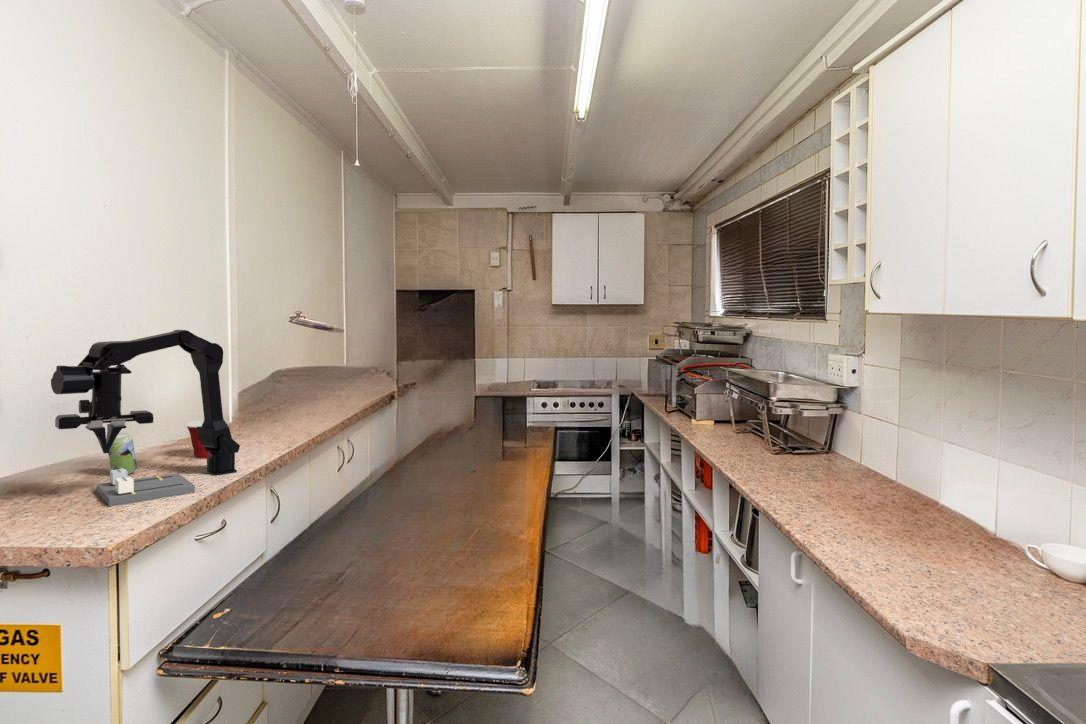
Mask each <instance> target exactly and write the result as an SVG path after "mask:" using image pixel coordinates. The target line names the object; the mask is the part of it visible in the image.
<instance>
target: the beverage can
mask: <svg viewBox="0 0 1086 724" xmlns="http://www.w3.org/2000/svg"><path fill="white" fill-rule="evenodd" d="M107 454H108V458H109V465H110V470H116V469H125V470H126V471H127V475H129V474H132V473H134V472H135V471H136V470H138V463H137V457H136V451H135V446H134V438H133V436H131V435H130V433H128V432H119V434H118V435H117V437H116V438H115V440H114V442H113V444H112V446H111V448H110V450H109V452H108V453H107Z"/></svg>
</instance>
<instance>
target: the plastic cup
mask: <svg viewBox="0 0 1086 724" xmlns="http://www.w3.org/2000/svg"><path fill="white" fill-rule="evenodd" d="M203 422H204V419H200V420H193V421H190V422H187V423H186V424H185V427H186V428H187V430H188V432H189V436H190V439H191V445H192V449H193V455H194V458H195V457H196V458H195V459H207V458H208V457H209V451H206V450H205V447H204V446H203V445H202V444H201V443H200V440H197V438H198V432H197V427H199V426H202V424H203Z"/></svg>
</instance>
